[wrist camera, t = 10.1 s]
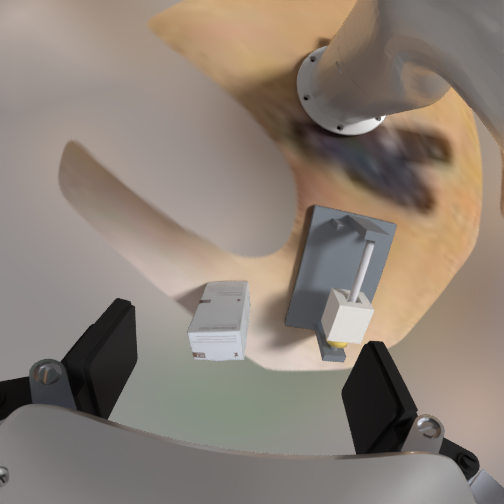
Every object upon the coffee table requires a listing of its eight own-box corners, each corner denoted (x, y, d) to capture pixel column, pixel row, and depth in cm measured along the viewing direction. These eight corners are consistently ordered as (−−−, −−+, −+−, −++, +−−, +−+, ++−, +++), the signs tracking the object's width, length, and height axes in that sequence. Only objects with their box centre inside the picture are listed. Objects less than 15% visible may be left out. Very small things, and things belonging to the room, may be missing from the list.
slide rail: (314, 204, 37) (328, 219, 29) (394, 223, 37) (422, 241, 29) (284, 322, 43) (288, 358, 35) (356, 331, 43) (372, 365, 35)
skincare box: (248, 279, 41) (242, 328, 29) (251, 306, 42) (246, 360, 31) (205, 281, 41) (185, 330, 30) (209, 308, 43) (193, 361, 31)
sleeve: (331, 287, 36) (339, 305, 31) (363, 292, 36) (374, 309, 32) (321, 320, 37) (327, 340, 33) (351, 324, 37) (360, 343, 33)
